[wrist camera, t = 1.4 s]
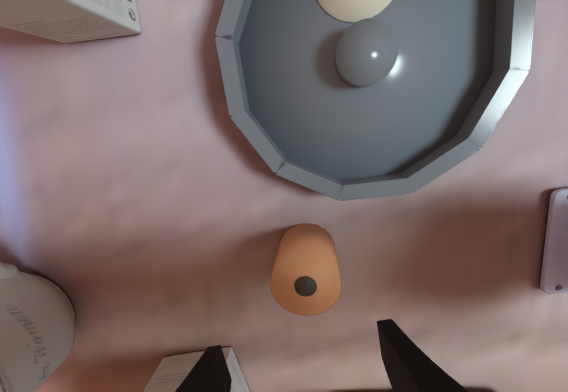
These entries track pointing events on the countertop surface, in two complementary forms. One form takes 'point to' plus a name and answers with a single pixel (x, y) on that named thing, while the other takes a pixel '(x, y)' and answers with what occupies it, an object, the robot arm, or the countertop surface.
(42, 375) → the teacup
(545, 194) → the countertop surface
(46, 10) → the skincare box
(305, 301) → the bead
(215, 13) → the countertop surface
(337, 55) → the groove tray
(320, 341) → the countertop surface
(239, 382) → the supplement box
